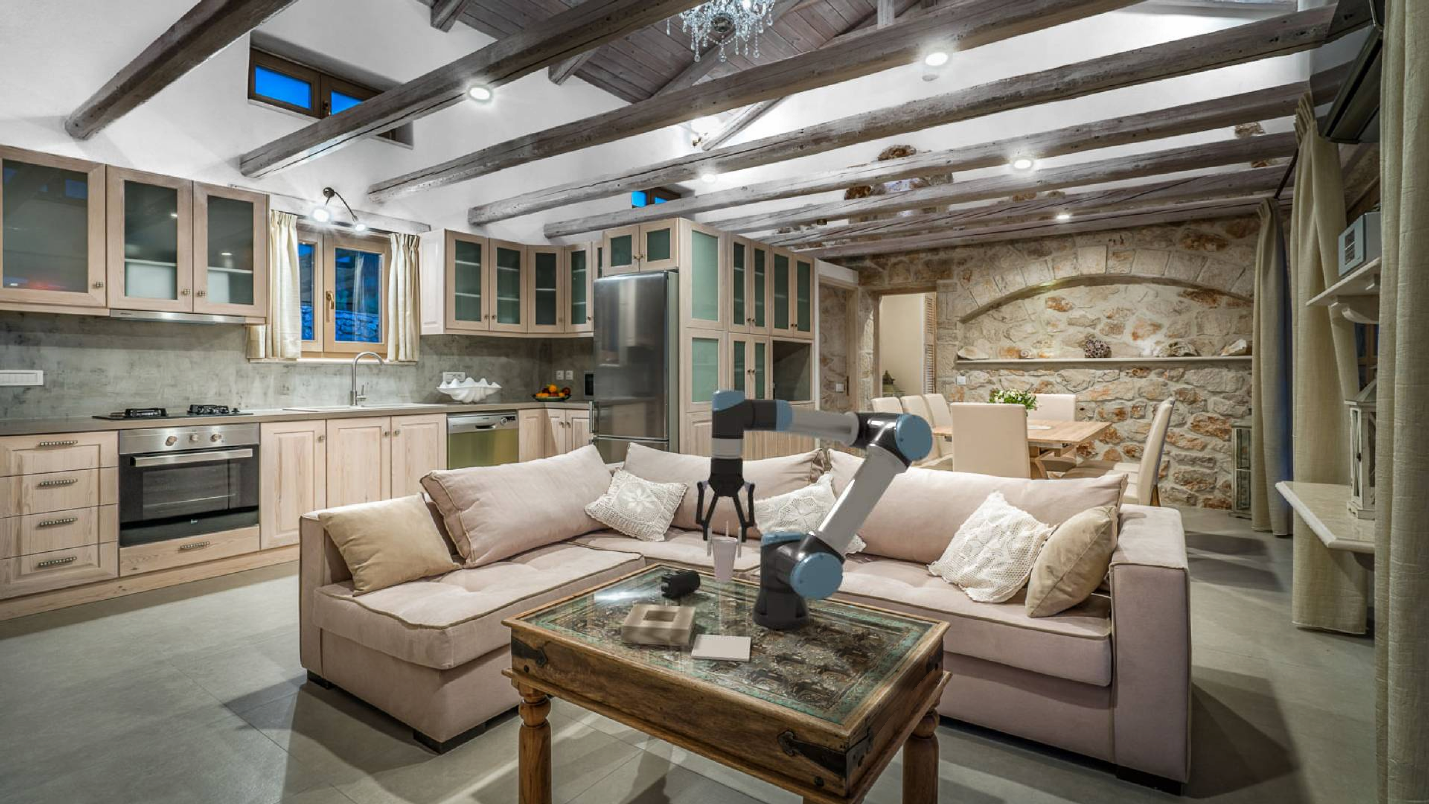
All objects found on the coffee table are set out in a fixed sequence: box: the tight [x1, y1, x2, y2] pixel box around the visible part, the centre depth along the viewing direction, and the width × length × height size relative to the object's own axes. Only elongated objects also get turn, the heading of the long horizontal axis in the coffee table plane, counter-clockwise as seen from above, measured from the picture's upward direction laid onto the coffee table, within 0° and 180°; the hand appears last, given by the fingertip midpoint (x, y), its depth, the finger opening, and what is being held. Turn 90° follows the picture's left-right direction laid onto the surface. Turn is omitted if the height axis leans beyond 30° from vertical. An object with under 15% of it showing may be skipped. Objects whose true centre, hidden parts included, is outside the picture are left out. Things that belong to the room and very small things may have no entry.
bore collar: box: [620, 603, 697, 647], centre depth 161 cm, size 16×16×4 cm
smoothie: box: [711, 520, 738, 584], centre depth 152 cm, size 6×6×14 cm
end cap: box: [660, 569, 702, 600], centre depth 191 cm, size 10×7×7 cm
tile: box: [690, 633, 751, 663], centre depth 152 cm, size 13×13×1 cm
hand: (724, 555), depth 152 cm, fingers closed on smoothie, 6 cm apart
